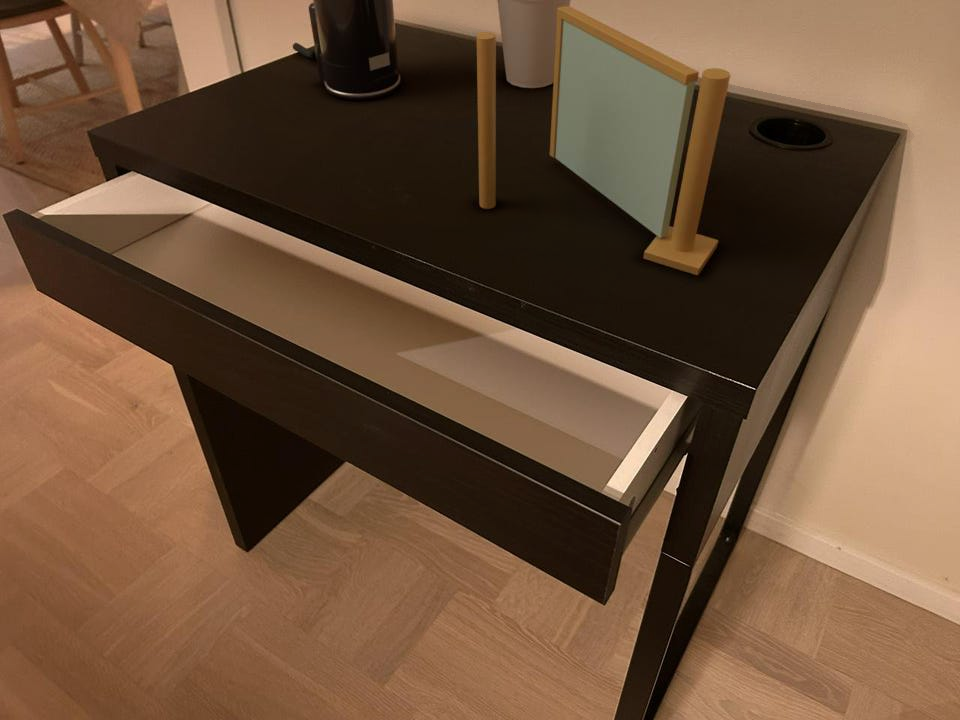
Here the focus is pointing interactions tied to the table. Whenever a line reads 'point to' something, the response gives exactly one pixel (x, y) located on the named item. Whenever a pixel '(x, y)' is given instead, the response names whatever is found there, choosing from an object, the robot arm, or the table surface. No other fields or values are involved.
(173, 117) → the table surface
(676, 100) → the glass door
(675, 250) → the hinge post
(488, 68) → the wooden dowel rod
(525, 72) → the foam cup
